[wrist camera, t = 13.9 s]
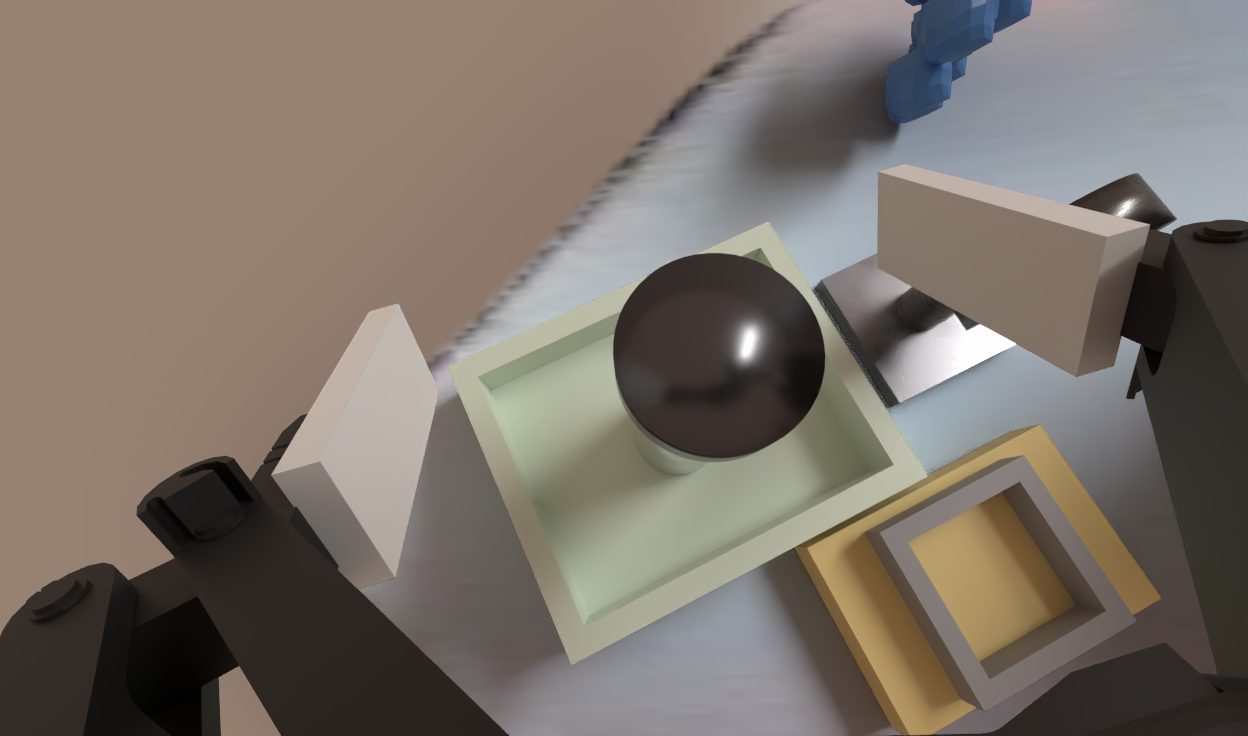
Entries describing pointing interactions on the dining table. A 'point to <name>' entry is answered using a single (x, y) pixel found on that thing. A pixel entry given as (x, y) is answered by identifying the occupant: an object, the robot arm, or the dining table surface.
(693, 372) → the pin
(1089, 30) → the dining table surface
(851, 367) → the tray
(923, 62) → the grapes
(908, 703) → the block
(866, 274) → the post
